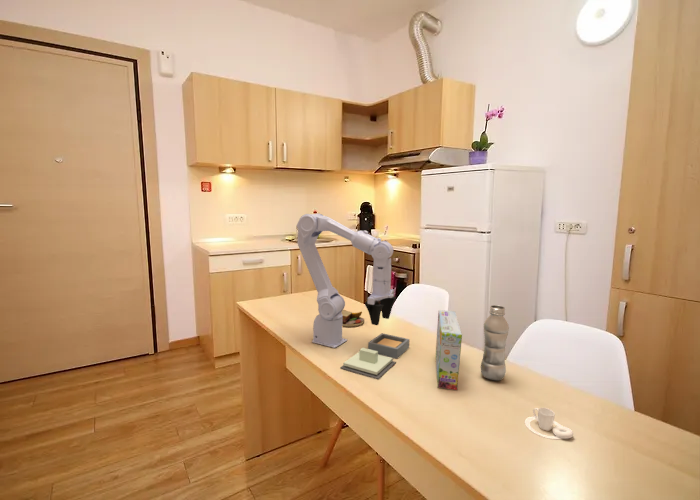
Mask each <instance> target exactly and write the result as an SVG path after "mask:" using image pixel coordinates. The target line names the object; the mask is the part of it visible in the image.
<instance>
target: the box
mask: <svg viewBox="0 0 700 500" xmlns="http://www.w3.org/2000/svg"><path fill="white" fill-rule="evenodd" d="M367 349H371V350H375V351H378V355H382V356H386V357H390V358H393V359H397V360H398V358H400V357H401V356H402V355H403V354H404V353H405V352H406V351H407V350H409V349H410V338H405V337H400V336H396V335H393V334H389V333H380V334H379V335H377V336H375V337H374V338H373V339H372V340H371V339H370V341H368V342H367Z"/></svg>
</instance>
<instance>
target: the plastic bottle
mask: <svg viewBox="0 0 700 500" xmlns="http://www.w3.org/2000/svg"><path fill="white" fill-rule="evenodd" d="M489 307H490V308H489V309H490V310H489V316H488V317H487V318H486V319H485V321H484V322H483V334H484V335H483V338H484V346H483V347H484V348H483V355H482V359H481V364H480V373H481V374H482V376H483V377H484V378H485V379H486V380H487V379H488V380H490V381H497V382H498V381H501V380H503V379H504V378H505V376H506V372H507V368H506V367H507V366H506V356H505V355H506V346H507V345H506V343H507V339H508V335H509V331H510V327H509V324H508V321H507V320H506V318H505V314H506V313H505V310H506V309H505V306H502V305H498V304H495V305H494V304H493V305H490V306H489Z"/></svg>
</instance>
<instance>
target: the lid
mask: <svg viewBox="0 0 700 500" xmlns="http://www.w3.org/2000/svg"><path fill="white" fill-rule="evenodd" d="M393 359H394V358H392V357H388V356H384V355H380V354H378V351H375V350H371V349H368V348H365V347H361V348H360V349H359V351H358V352H357V353H355V354H354V355H353V356H351V357H350V358H348V359H347V360H345V361H344V362H343V365H342V366H347V367H350V368H354V369H357V370H361V371H364V372H368V373H371V374H375V375H377V374H378V373H380V372H381V371H382V370H383V369H384V368H385V367H386V366H387V365H388V364H390V363H391V362H392V361H394V360H393Z"/></svg>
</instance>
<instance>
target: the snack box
mask: <svg viewBox="0 0 700 500" xmlns="http://www.w3.org/2000/svg"><path fill="white" fill-rule="evenodd" d="M437 315H438V316H437V328H436V343H435V366H436V381H437V382H436V383H437V388H439V389H447V390H451V391H458V384H459V374H460V373H459V372H460V364H461V363H460V362H461V351H462V341H463V339H462V338H463V334H462V329H461V327H460V324H459V319H458V317H457V313H456V311H454V310H453V311H452V310H441V309H439V310H438V314H437Z"/></svg>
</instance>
